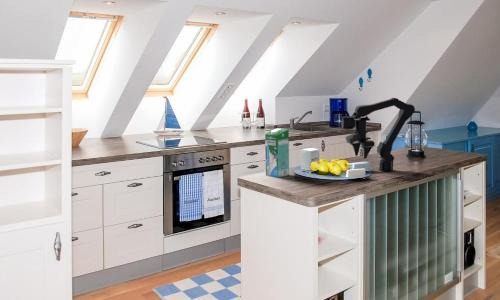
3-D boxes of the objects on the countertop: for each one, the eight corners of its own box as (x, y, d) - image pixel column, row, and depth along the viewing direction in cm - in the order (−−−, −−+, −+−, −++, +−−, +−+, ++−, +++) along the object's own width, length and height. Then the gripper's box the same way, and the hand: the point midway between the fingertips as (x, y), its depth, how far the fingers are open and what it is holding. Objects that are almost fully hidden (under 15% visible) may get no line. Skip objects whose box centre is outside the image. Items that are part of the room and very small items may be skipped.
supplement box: (310, 173, 264) (310, 150, 262) (300, 171, 269) (300, 149, 267) (319, 171, 268) (319, 149, 266) (310, 169, 274) (309, 147, 272)
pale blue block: (366, 170, 269) (366, 161, 268) (370, 171, 265) (370, 162, 264) (350, 171, 266) (350, 163, 265) (354, 173, 262) (354, 164, 261)
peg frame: (334, 174, 261) (334, 165, 260) (350, 172, 264) (350, 163, 263) (347, 180, 246) (348, 170, 245) (365, 178, 249) (365, 169, 248)
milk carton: (265, 175, 262) (264, 129, 258) (277, 172, 268) (276, 127, 264) (278, 177, 256) (277, 131, 251) (289, 174, 262) (288, 129, 258)
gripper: (339, 127, 268) (339, 155, 271) (356, 132, 250) (356, 161, 253) (357, 126, 271) (357, 153, 274) (375, 130, 254) (374, 159, 256)
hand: (360, 157), depth 264 cm, fingers open, 9 cm apart
